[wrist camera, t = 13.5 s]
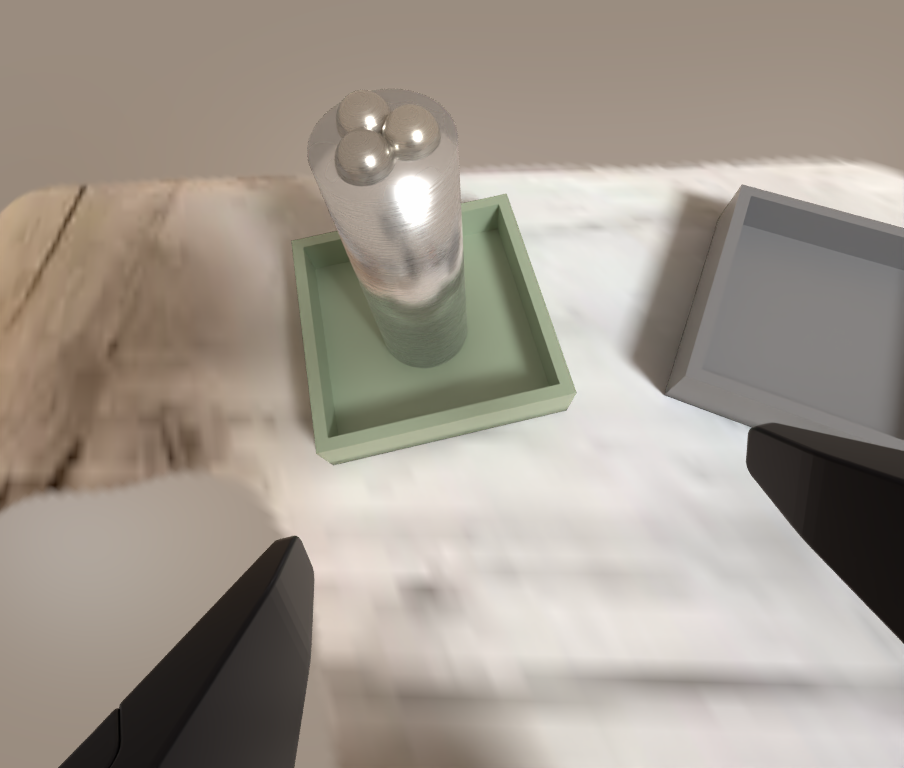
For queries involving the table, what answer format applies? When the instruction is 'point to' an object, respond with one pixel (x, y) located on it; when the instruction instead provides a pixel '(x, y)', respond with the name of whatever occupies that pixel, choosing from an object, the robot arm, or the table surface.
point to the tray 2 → (798, 321)
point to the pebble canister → (398, 215)
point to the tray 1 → (436, 388)
